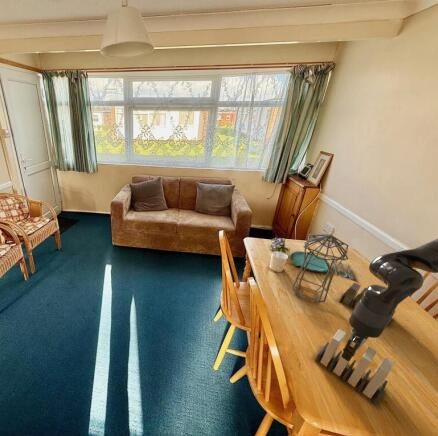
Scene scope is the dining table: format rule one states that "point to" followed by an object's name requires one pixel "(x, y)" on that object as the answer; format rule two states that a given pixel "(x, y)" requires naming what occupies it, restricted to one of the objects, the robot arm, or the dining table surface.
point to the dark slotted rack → (358, 367)
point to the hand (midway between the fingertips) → (349, 353)
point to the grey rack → (354, 296)
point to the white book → (340, 366)
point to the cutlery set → (299, 259)
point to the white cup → (278, 261)
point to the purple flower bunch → (279, 243)
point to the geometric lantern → (333, 240)
